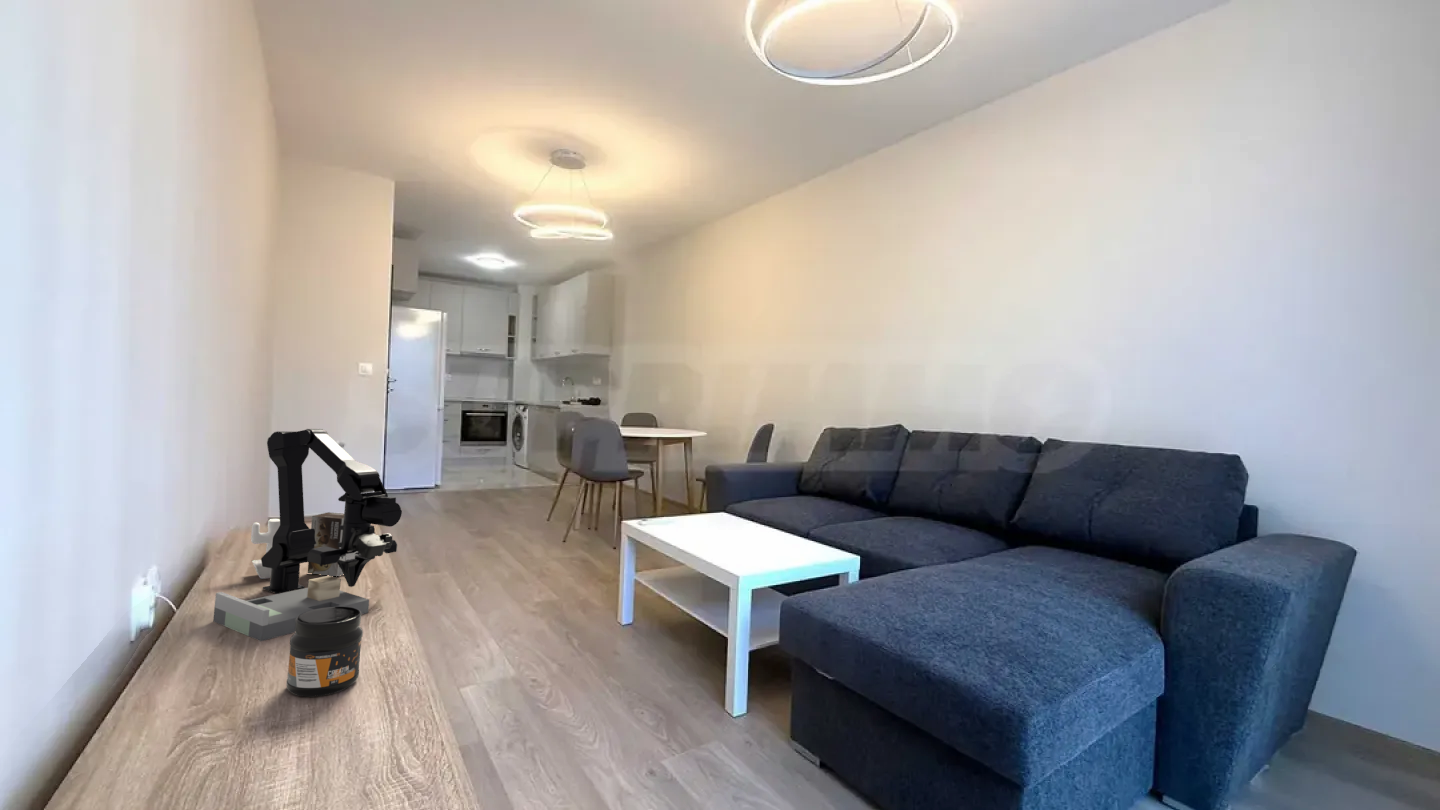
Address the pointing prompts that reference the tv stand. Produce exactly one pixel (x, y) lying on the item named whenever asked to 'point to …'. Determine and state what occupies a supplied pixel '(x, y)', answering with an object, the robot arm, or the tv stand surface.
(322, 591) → the maple block
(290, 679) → the supplement container
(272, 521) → the figurine
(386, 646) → the tv stand surface
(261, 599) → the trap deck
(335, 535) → the coffee box
